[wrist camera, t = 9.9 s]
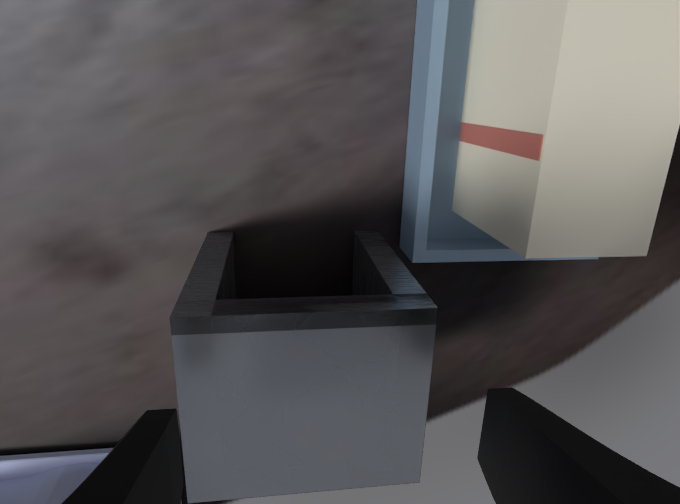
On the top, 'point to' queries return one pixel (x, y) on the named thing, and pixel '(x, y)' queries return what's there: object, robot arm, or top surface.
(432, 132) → the tray
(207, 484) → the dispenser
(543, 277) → the top surface
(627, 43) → the block
